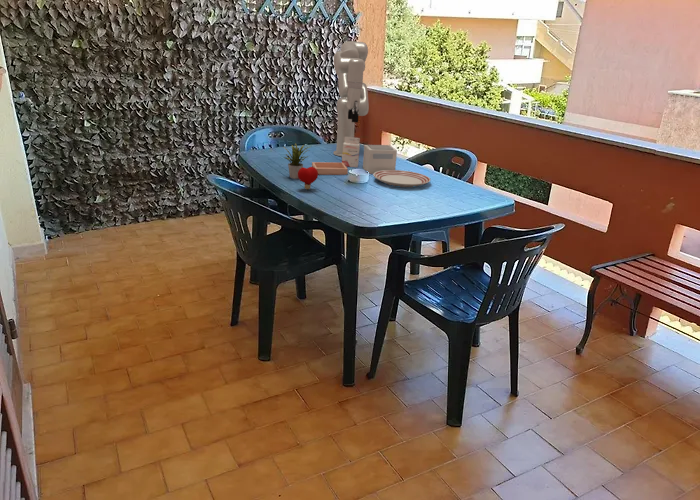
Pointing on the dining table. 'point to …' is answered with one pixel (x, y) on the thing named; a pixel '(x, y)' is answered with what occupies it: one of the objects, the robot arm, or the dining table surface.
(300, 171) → the red heart ornament
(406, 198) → the dining table surface
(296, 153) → the house plant
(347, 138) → the ink cartridge box
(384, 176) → the dinner plate
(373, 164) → the grey unit
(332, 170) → the tray
